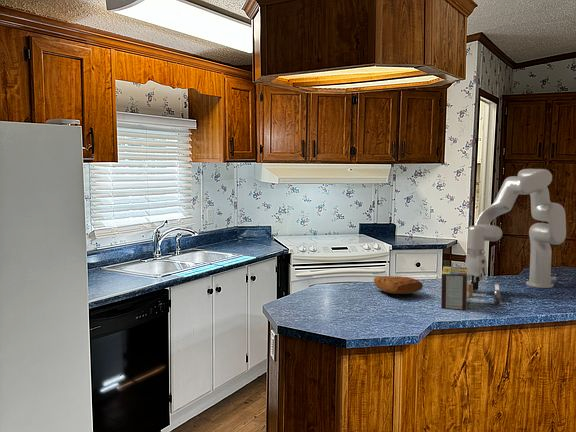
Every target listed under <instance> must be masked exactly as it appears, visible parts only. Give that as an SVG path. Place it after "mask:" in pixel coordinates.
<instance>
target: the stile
mask: <svg viewBox="0 0 576 432" xmlns="http://www.w3.org/2000/svg"><path fill="white" fill-rule="evenodd" d="M473 293H474V292H473V284H470V283H467V298H473Z"/></svg>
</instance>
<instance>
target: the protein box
mask: <svg viewBox="0 0 576 432" xmlns="http://www.w3.org/2000/svg"><path fill="white" fill-rule="evenodd" d="M467 282H468V276H467V268H465V267H459V266H458V267H457V266H443V268H442V272H441V301H440V303H441V305H440V306H441V307H440V309H444V310H445V309H446V310H457V311H458V310H459V311H467V300H468V299H467V298H468V297H467Z"/></svg>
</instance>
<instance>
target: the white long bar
mask: <svg viewBox="0 0 576 432" xmlns="http://www.w3.org/2000/svg"><path fill="white" fill-rule="evenodd" d="M494 290H500V283H498V282H496V283H495V282H494Z"/></svg>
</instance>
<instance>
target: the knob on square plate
mask: <svg viewBox="0 0 576 432" xmlns="http://www.w3.org/2000/svg"><path fill="white" fill-rule="evenodd" d="M493 294H494V295H493V301H488V304H489V305H493V306H496V307H499V306H505V305H506V303H505V302H502V301H501V290H500V289H499V290H495V289H494V293H493Z"/></svg>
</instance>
